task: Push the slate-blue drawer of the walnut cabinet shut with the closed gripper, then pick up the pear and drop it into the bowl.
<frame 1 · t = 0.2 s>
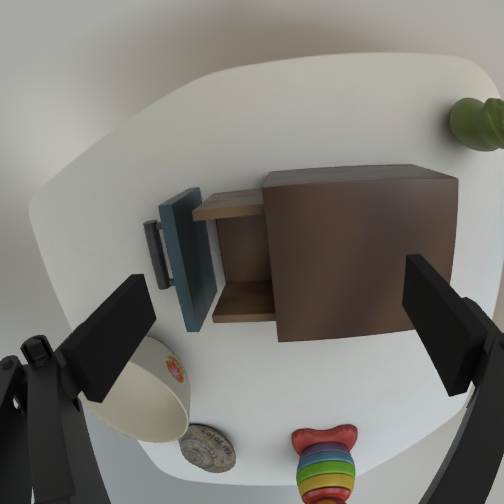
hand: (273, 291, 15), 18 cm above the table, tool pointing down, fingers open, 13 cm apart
cabinet: (347, 228, 31), on the table
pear: (460, 123, 25), on the table
bowl: (153, 353, 40), on the table
stacking bear: (324, 441, 44), on the table
drawer: (235, 253, 28), point 5 cm above the table, slide at 7.0 cm
fossilized seashell: (210, 440, 47), on the table
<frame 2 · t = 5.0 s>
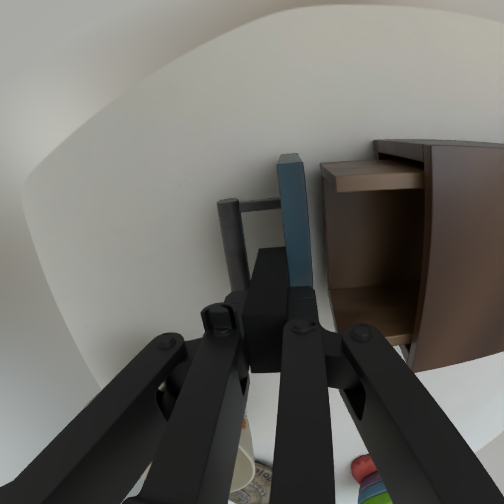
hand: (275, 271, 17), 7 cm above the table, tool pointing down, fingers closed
cabinet: (457, 217, 21), on the table
bowl: (191, 382, 31), on the table
stacking bear: (385, 464, 34), on the table
drawer: (364, 247, 18), point 5 cm above the table, slide at 5.7 cm, touching gripper
fossilized seashell: (253, 473, 38), on the table
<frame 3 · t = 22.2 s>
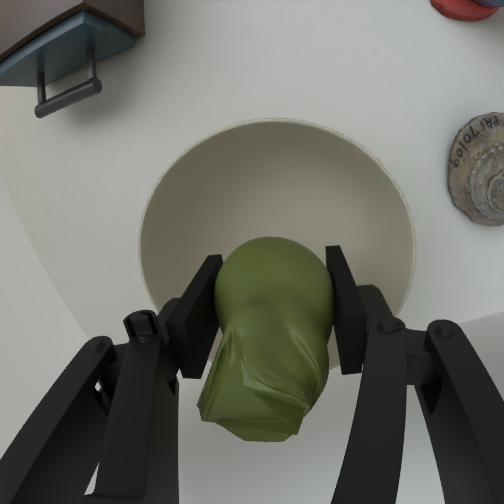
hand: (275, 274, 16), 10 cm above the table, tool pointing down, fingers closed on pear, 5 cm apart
cabinet: (87, 0, 19), on the table
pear: (274, 269, 17), point 10 cm above the table, touching bowl, gripper
bowl: (280, 221, 26), on the table, touching gripper, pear
drawer: (57, 18, 16), point 5 cm above the table, slide at 0.0 cm
fossilized seashell: (491, 167, 22), on the table
when the fingers open (10 cm above the table, at t = 22.4 s): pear stays where it is, resting on bowl.
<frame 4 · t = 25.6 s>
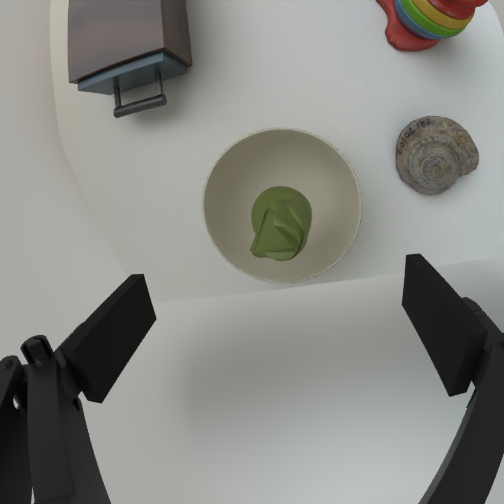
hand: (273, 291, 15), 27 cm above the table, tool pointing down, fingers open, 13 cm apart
cabinet: (144, 32, 33), on the table
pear: (281, 208, 30), point 10 cm above the table, touching bowl
bowl: (283, 191, 40), on the table, touching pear
stacking bear: (412, 18, 28), on the table
drawer: (130, 47, 30), point 5 cm above the table, slide at 0.0 cm
fossilized seashell: (431, 154, 35), on the table
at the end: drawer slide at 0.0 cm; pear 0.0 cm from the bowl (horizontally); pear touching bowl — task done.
